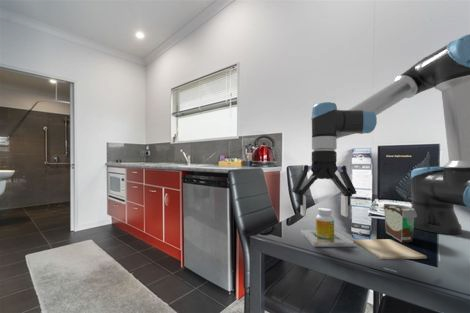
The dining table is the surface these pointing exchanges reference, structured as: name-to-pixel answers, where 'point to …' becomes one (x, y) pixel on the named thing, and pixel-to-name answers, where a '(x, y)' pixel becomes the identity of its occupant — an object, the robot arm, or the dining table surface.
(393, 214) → the food container
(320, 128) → the robot arm
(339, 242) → the grey square frame
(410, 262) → the dining table surface
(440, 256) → the dining table surface
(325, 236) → the supplement bottle
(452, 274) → the dining table surface
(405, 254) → the oak pad
